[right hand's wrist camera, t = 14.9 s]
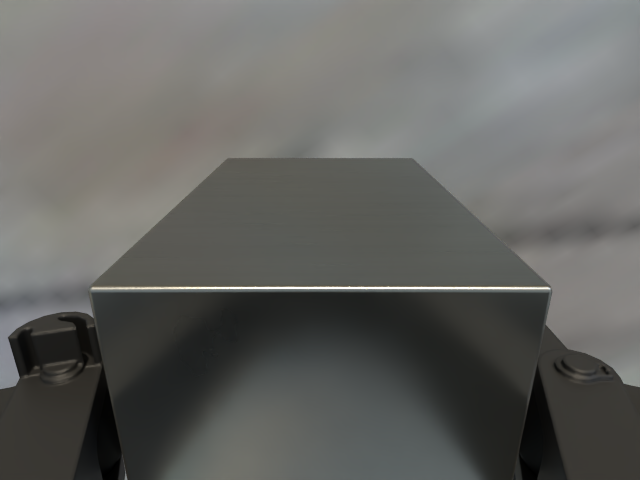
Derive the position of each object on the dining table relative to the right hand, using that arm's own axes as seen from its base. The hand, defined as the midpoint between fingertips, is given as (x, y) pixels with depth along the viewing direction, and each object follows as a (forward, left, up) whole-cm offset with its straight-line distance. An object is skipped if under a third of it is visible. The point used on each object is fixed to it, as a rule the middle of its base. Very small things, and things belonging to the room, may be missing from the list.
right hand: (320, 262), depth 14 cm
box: (-6, +4, -1) cm, 8 cm away
